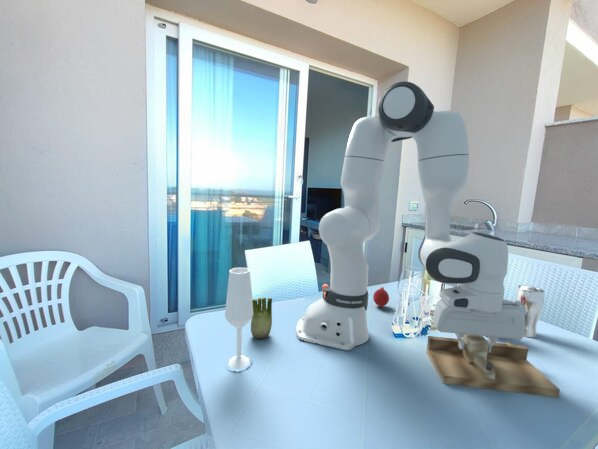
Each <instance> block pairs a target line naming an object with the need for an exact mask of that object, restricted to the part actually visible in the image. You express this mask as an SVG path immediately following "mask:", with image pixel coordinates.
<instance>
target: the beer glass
mask: <svg viewBox="0 0 598 449" xmlns="http://www.w3.org/2000/svg"><path fill="white" fill-rule="evenodd" d="M545 293H546V291H545V290H544V289H542V288H540V287H537V286H531V285H527V284H519V285H517V289H516V292H515V297H514V301H519V302H520V303H522V304H523V305H524V306H525V307H526V314H525V336H524V337H526V338H532V339H534V338H537V336H538V335H537V325H538V322H539V319H540V317H541V314H542V312H543V311H544V310H543V309H544V305H545Z"/></svg>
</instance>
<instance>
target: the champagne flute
mask: <svg viewBox="0 0 598 449" xmlns="http://www.w3.org/2000/svg"><path fill="white" fill-rule="evenodd" d="M251 281H252V280H251V271H250V268H247V267H233V268H231V269H229V272H228V283H227V292H226V303H225V312H224V318H225V320H226V321H227V322H228V323H229V324H230V325H231V326H233V327H234V328H236V355H234V356H232V358H231V357H230V358H231V359H230V358H229V359H230V360H229V364H228V365H229V366H230V367H231V368H234V369H241V368H244V367H245V366H247V365H248V364H249V358H248V357H249V356H248V357H246V356H247V355H245V356H244V354H242V338H243V337H242V335H243V334H242V333H243V332H242V330H243V329H242V328H243V327H245V326H246V325H247V324H248V323H249V322H250V321H251V320H252V316H253V303H252V300H253V294H252V282H251Z"/></svg>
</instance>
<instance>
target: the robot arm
mask: <svg viewBox="0 0 598 449" xmlns="http://www.w3.org/2000/svg"><path fill="white" fill-rule="evenodd" d="M408 139H409V140H410V139H413V140H414V142H415V143H416V148H417V170H418V171H417V172H418V179H419V183H420V187H421V193H422V197H423V201H424V212H425V213H424V237H423V239H422V241H421V242H420V246H419V248H418V251H417V252H418V253H417V255H418V260H419V263H420V264H421V265H422V266H423V267H424V269H425V270H426V272H427V274H428V275H429V277H430V278H431V279H433V280H434V281H435V282H438V283H442V284H453V285H455V284H459V285H456V286H453V287H449V288H444V289H443V288H442V289H441V290H440V291H439V298H440V299H439V300H438V301H436V304H435V307H434V310H433V315H432V324H433V326H434V328H436V330H437V331H438V332H440V333H448V334H455V335H456V339H458V340H459V343H458V346H459V348H460V349H461V350H467V349H468V348H467V347H468V344H467V343H466V342H465V341H464V340H463V338H464V336H465V334H467V335H477V336H483V337H487V339H486V340H487V341H488V351H487V352H491V347H492V346H493V345H494V344H495V343H498V341H499V338H500V339H506V340H507V339H509V340H520V341H521V340H522V339H523V338H524V337H525V314H526V307H525V306H524V305H523V304H522V303H520V302H519V301H515V300H508V299H505V298H504V297H505V285H504V281H505V278H506V276H507V275H508V266H509V246H508V244H507V242H506V241H505V240H504V239H502V238H500V237H499V236H497V235H492V234H489V233H485V232H479V231H478V232H477V231H474V232H470V233H469V234H468V235H466V236H464V237H461V238H459V239H455V240H452V237H451V209H452V205H453V204H452V203H453V202H454V200H455V198H456V197H457V196H458V194H459V192H460V191H461V190H462V189H463V188H464V187H465V185H466V183H467V178H468V174H469V168H470V167H469V165H470V164H469V163H470V156H469V155H470V154H469V153H470V152H469V151H470V150H469V148H470V147H469V141H468V140H469V139H468V132H467V128H466V124H465V119H464V116H462V114H460V113H459V112H458V111H454V110H439V111H435V106H434V104H433V103H432V101H431V100H430V98H429V97H428V96H427V94H426V92H425V91H424V90H423V89H422V88H421V87H420V86H418V85H417V84H416V83H413V82H411V81H398V82H396V83H393V84H391V85H390V86H389V87H388V88H387V89H385V90H384V92H383V93H382V94H381V96H380V98H379V100H378V104H377V115H374V116H364V117H361V118H359V119H358V120H356V121H355V122H354V124H353V126H352V128H351V131H350V134H349V137H348V141H347V144H346V148H345V153H344V158H343V165H342V171H341V176H340V187H341V188H342V191H343V197H344V198H343V199H344V206H343V207H340V208H336V209H333V210H332V211H329V212H327V213H325V214H324V215H323V216H322V217H321V218H320V221H319V224H318V233H319V236H320V239H321V240H322V242H323V243H324V244H325V245H326V248H327V251H328V254H329V259H330V278H329V279H330V283H329V285H328V284H327V283H324V284H322V286H321V287H322V288H321V289H322V298H319V299H318V300H316V301H314V302H313V303H311V304H309V306H308V307H307V309H306V310H305V313H304V315H303V316H302V317H300V318H299V319H298V321H297V323H296V327H295V335H296V337H297V338H298V340H300V339H301V340H300V341H303V340H304V342H308V343H312V344H316V343H317V345H321V346H326V347H331V348H334V349H335V348H336V349H339V350H344V351H351V350H352V349H354V348H355V347H356V346H359V345H363V344H364V343H366V342H368V340H369V339H370V333H369V329H368V327H369V326H368V321H367V310H368V307H369V290H368V282H369V281H368V280H369V264H368V263H367V261H366V258H365V255H364V254H365V253H364V247H363V246H364V243H365V242H368V241H371V240H372V239H373V238H374V237H375V236H376V235H378V233H379V232H380V230H381V227H382V220H381V217H380V190H381V189H380V188H381V182H382V177H383V172H384V165H385V162H386V156H387V151H388V148H389V145H390V144H391V142H392V143H395V142H399V141H405V140H408ZM503 298H504V299H505V300H503Z"/></svg>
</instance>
